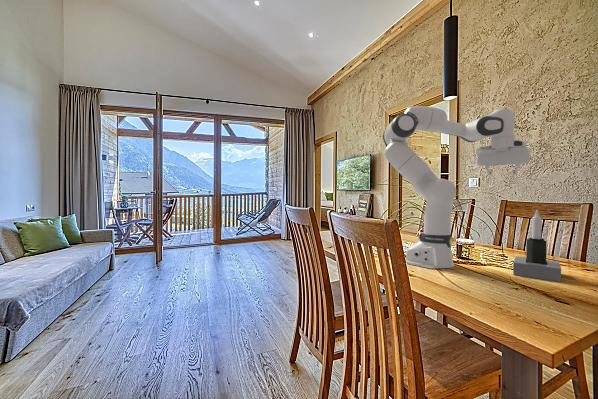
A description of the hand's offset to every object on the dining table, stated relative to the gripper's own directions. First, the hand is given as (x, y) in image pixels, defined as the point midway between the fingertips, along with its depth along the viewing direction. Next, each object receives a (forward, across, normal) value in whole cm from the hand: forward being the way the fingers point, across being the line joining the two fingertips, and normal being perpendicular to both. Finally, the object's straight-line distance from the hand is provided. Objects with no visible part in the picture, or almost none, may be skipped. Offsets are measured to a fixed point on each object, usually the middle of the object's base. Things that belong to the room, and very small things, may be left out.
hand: (502, 174), depth 132 cm
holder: (+41, +13, -15) cm, 46 cm away
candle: (+40, +13, -15) cm, 45 cm away
